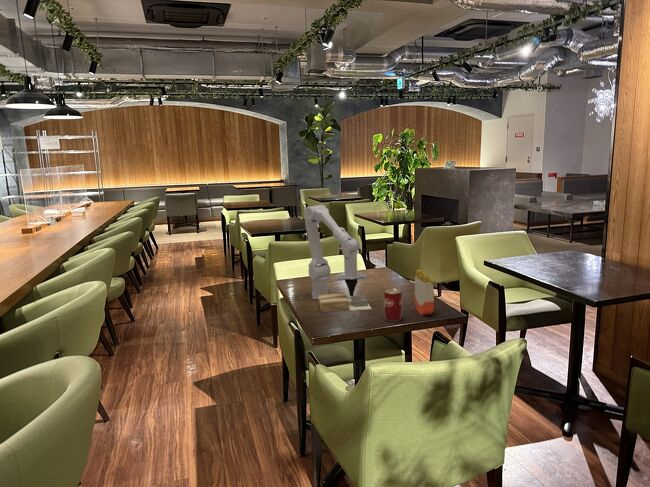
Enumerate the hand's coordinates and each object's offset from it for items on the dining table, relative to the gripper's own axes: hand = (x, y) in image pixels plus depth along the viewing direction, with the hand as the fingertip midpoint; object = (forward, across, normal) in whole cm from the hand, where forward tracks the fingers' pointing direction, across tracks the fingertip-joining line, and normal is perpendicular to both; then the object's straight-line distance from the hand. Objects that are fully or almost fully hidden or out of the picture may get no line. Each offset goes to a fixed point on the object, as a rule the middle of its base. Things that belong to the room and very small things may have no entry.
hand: (351, 295), depth 220 cm
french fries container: (+5, +28, -17) cm, 34 cm away
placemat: (+4, +3, 0) cm, 5 cm away
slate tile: (+2, +4, 0) cm, 4 cm away
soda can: (+5, +14, -22) cm, 26 cm away
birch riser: (+4, -8, 0) cm, 10 cm away
